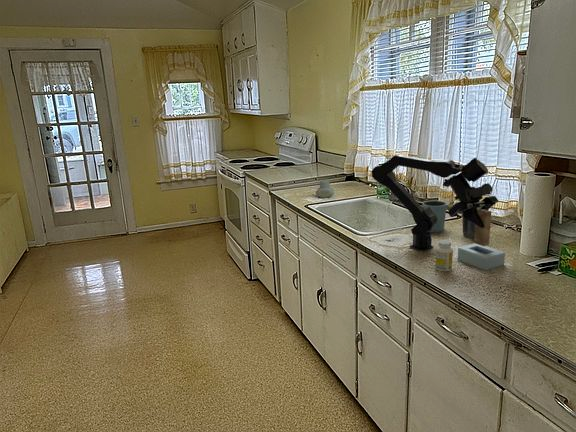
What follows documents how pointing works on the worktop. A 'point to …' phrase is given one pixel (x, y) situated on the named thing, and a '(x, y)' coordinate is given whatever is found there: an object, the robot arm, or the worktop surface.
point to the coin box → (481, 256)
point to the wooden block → (483, 233)
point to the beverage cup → (468, 228)
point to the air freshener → (324, 189)
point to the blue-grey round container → (437, 213)
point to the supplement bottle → (444, 256)
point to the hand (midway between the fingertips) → (486, 226)
